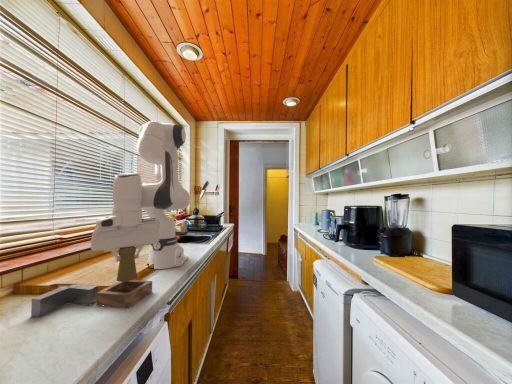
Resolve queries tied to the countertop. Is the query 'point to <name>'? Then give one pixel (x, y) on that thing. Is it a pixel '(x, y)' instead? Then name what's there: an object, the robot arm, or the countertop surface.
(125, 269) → the cork
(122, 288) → the sleeve
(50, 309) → the v block
